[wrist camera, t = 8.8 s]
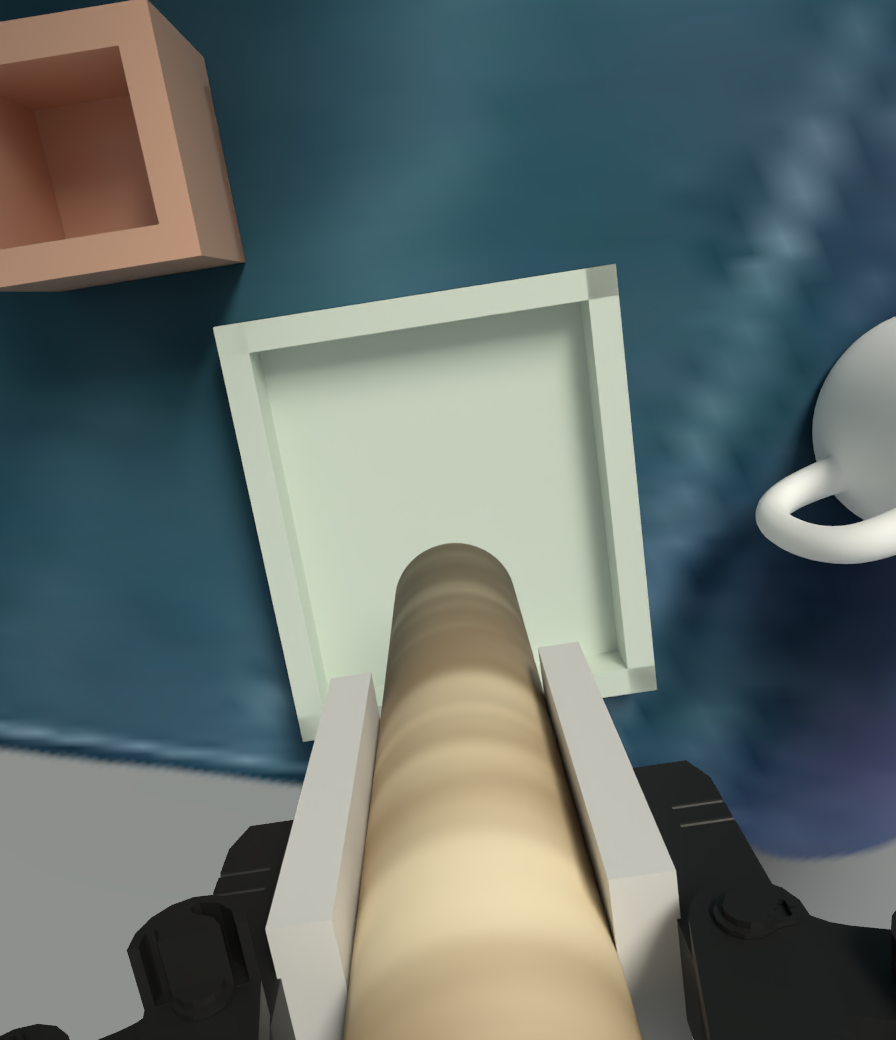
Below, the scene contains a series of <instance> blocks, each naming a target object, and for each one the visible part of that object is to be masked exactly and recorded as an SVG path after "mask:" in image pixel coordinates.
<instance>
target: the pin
mask: <svg viewBox="0 0 896 1040" xmlns="http://www.w3.org/2000/svg"><path fill="white" fill-rule="evenodd" d="M342 1040H643V1038H642V1034H641V1031H640V1027H639V1024H638V1020H637V1017H636V1013H635V1010H634V1006H633V1003H632V999H631V996H630V992H629V989H628V985H627V982H626V978H625V975H624V971H623V968H622V965H621V962H620V960H619V957H618V954H617V951H616V947H615V944H614V940H613V937H612V933H611V930H610V926H609V923H608V919H607V916H606V912H605V909H604V905H603V902H602V898H601V895H600V891H599V887H598V884H597V880H596V877H595V873H594V870H593V866H592V863H591V859H590V856H589V852H588V849H587V845H586V842H585V838H584V835H583V831H582V827H581V824H580V820H579V817H578V813H577V810H576V806H575V803H574V799H573V796H572V792H571V789H570V785H569V782H568V778H567V775H566V771H565V767H564V764H563V760H562V757H561V753H560V750H559V746H558V743H557V739H556V736H555V732H554V729H553V725H552V722H551V718H550V715H549V711H548V708H547V704H546V700H545V697H544V691H543V688H542V684H541V681H540V677H539V674H538V670H537V667H536V663H535V660H534V656H533V653H532V649H531V646H530V642H529V639H528V635H527V632H526V628H525V625H524V621H523V617H522V614H521V610H520V607H519V603H518V600H517V596H516V593H515V589H514V586H513V583H512V580H511V577H510V575H509V574H508V572H507V570H506V569H505V567H504V566H503V564H502V563H501V562H500V561H499V560H498V559H497V558H495V557H494V556H493V555H492V554H490V553H489V552H487V551H485V550H483V549H481V548H479V547H476V546H473V545H470V544H464V543H447V544H442V545H438V546H435V547H432V548H430V549H428V550H426V551H424V552H422V553H421V554H419V555H418V556H417V557H415V558H414V559H413V560H412V561H411V562H410V563H409V564H408V566H407V567H406V568H405V570H404V571H403V573H402V575H401V577H400V579H399V581H398V584H397V587H396V593H395V601H394V609H393V618H392V626H391V634H390V643H389V651H388V660H387V668H386V676H385V685H384V693H383V701H382V710H381V718H380V726H379V735H378V743H377V751H376V760H375V768H374V777H373V785H372V793H371V802H370V810H369V818H368V827H367V835H366V843H365V852H364V860H363V869H362V877H361V885H360V894H359V902H358V910H357V919H356V927H355V935H354V944H353V952H352V960H351V969H350V977H349V986H348V994H347V1002H346V1011H345V1019H344V1027H343V1036H342Z"/></svg>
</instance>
